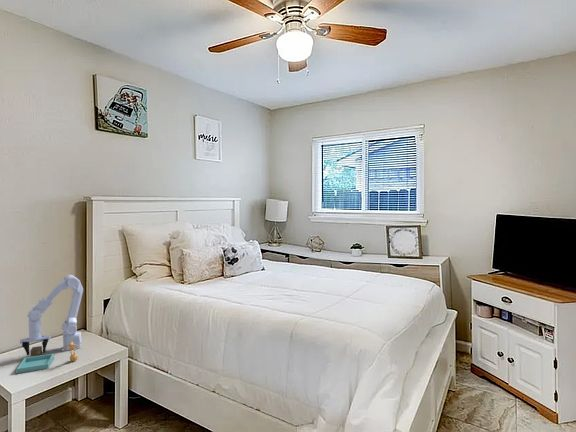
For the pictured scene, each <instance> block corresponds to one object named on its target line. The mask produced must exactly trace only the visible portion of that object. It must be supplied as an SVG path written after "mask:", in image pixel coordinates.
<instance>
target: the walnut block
mask: <svg viewBox="0 0 576 432" xmlns="http://www.w3.org/2000/svg"><path fill="white" fill-rule="evenodd" d="M29 351H30V354H29V355H30V357H33V356H40V355H43V345H39V346H32V347H31V349H29Z"/></svg>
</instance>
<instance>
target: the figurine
mask: <svg viewBox="0 0 576 432" xmlns="http://www.w3.org/2000/svg"><path fill="white" fill-rule="evenodd" d="M67 346H69V347H70V348H69V350H68V351H70V354H71V355H70V356H69V360H70V362H76V361H77V360H78V358H79V357H78V356H79V355H78V354H77V353H75V352H76V349H75V348H73V346H77V347H79V346H78V345H75V344H73V342H72V341H71V343H70V344H68V345H66V346H65V348H66V347H67ZM65 348H64V350H65ZM79 349H81V346H80V347H79ZM65 351H66V350H65Z"/></svg>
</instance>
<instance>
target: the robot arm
mask: <svg viewBox="0 0 576 432" xmlns="http://www.w3.org/2000/svg"><path fill="white" fill-rule="evenodd" d="M69 288H71V290H72V295H71V301H70V305H69V309H68V313H67V316H66V317H65V320H64V322H63V323H62V324H61V328H62V330H63V332H62V344H63V346H62V349H61V351H62V352H63V351H65V352H66V351H70V350H69V348H70V347H69V346H67V347H66V348H65V346H66V345H68V344H70V343H71V341H72V342H73V344H75V345H78V346H79V347H80V348H81V346H82V344H83V342H82V332H81V331H77V330H78V326H77V324H78V323H77V322H78V321H77V317H78V313H79V309H80V307H81V301H82V297H83V293H84V288H83V285H82V283H81V280H80V279H79V278H78V277H75V275H73V274H67V275H66V276H65V277H63V278H62V279H61V280H60V281H59V282H58V284H57V285H56V286H55V287H54V289H52V291H51V292H50V293H49V294H48V295H47V296H46V297H43V298H42V299H39V300H38V303H36V304H35V306H34V307H32V308H31V310H29V311H28V312H27V318H28V336H29V337H25V338H21V339H19V344H20V345H21V347H22V348H23V349H24V351H25V353H26V355H27V356H29V355H31V354H30V343H35V342H39V341H40V342H41V341H42V342H41V344H42V345H41V346H42V354H45V352H46V348H47V345H48V342H49V341H50V340H51V338H52V337H51V335H42V321H41V318H42V316H43V315H42V314H44V313H45V311H47V310H48V309H49V307H50V306H51V305H52V301H53V300H54V299H55V298H56V297H57V296H58V295H60V293H61V292H62V291H64V290H69ZM79 347H77V346H73V348H75V350H78V349H80V348H79ZM64 348H65V350H64Z"/></svg>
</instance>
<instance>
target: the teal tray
mask: <svg viewBox="0 0 576 432" xmlns="http://www.w3.org/2000/svg"><path fill="white" fill-rule="evenodd" d="M54 359H55V353H48V354H42V355H40V356H33V357H31V356H29V357H24V358H23V360H22V361H21V362H20V363H19V365H18V366H17V368H15V369H16V374H17V375H18V374H22V373H23V374H24V373H30V372H36V371H43V370H48V369H49V368H50V366H51V364H52V363H53V361H54Z"/></svg>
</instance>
